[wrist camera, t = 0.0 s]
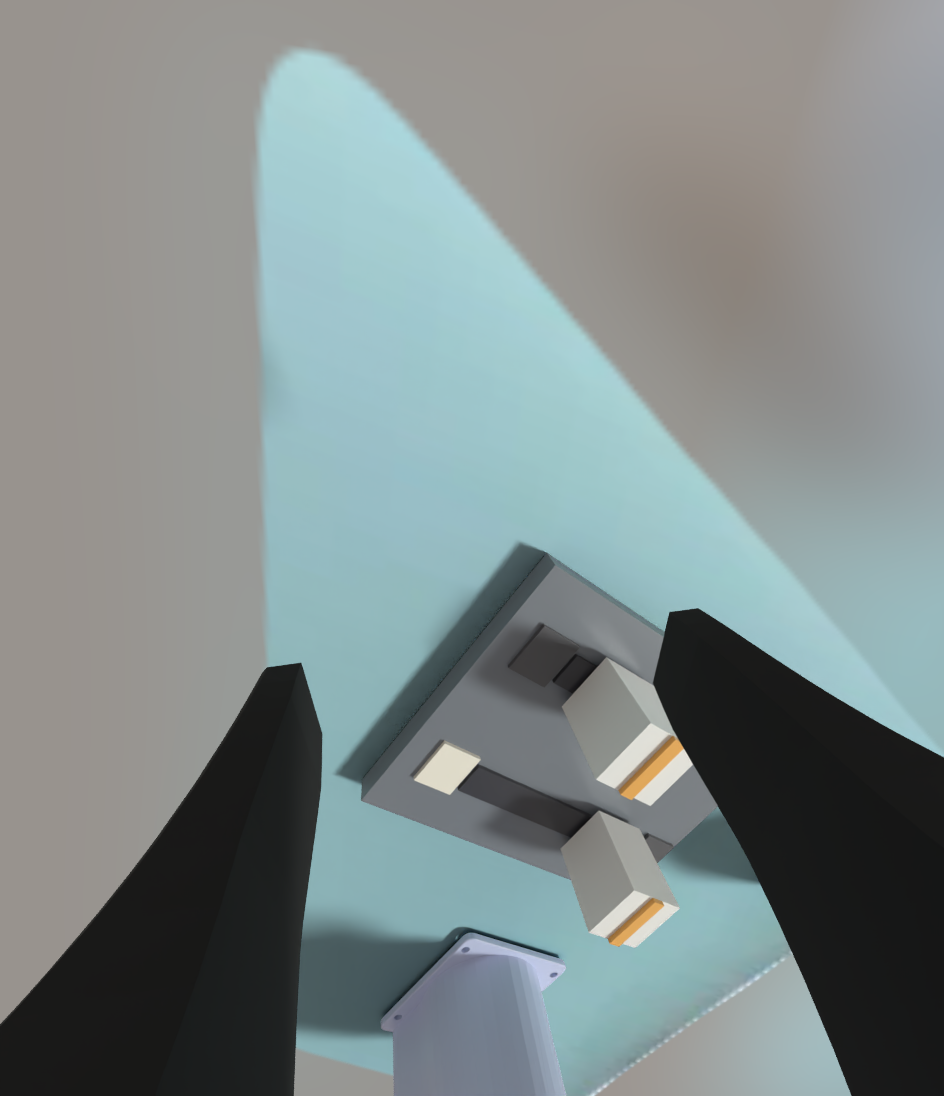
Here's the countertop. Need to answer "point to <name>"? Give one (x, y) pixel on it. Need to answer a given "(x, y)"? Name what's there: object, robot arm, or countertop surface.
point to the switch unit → (529, 731)
